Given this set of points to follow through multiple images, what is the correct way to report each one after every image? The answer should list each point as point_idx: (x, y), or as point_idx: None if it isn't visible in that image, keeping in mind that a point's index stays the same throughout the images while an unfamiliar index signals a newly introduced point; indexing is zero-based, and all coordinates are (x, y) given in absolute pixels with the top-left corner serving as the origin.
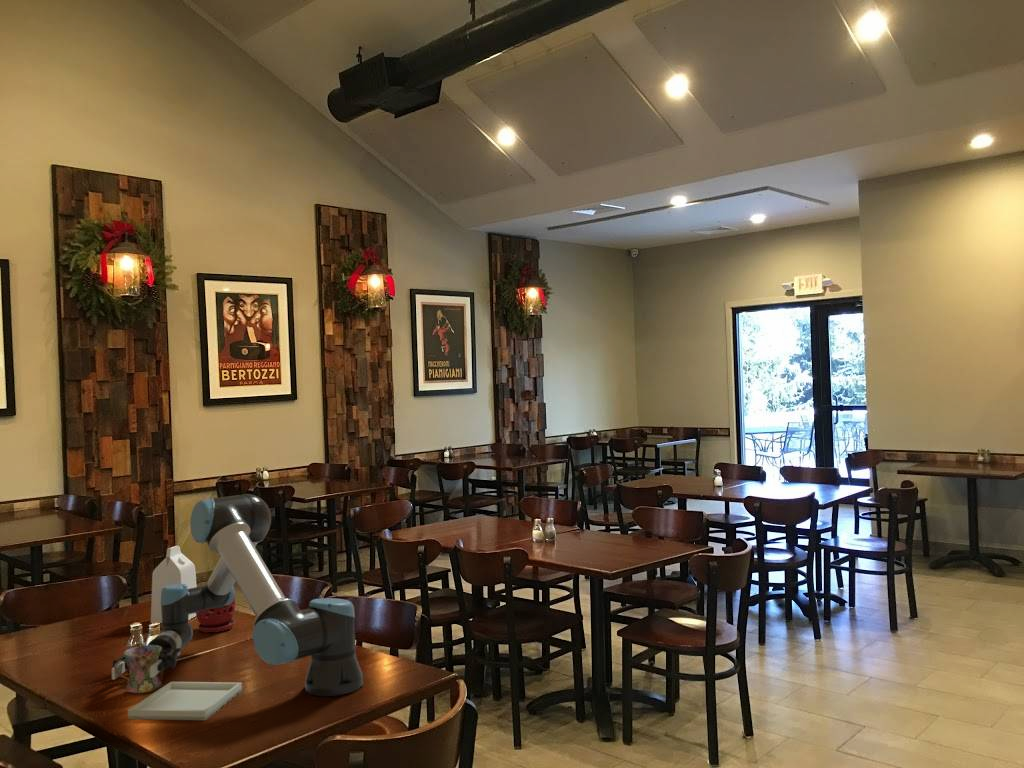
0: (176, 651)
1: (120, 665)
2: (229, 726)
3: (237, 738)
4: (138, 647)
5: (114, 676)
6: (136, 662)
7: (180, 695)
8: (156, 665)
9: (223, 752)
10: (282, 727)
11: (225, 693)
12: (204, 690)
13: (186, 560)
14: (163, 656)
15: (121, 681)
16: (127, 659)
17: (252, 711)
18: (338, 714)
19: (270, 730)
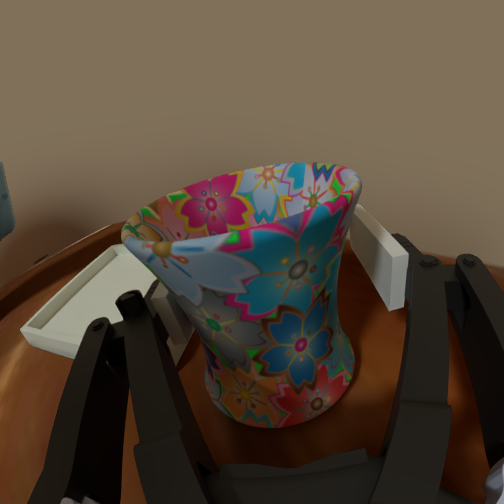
0: (50, 451)
1: (368, 234)
2: (98, 253)
3: (101, 240)
4: (318, 210)
5: (351, 235)
6: (254, 207)
7: None
8: None
9: (120, 226)
10: (60, 259)
11: (63, 289)
12: (82, 335)
13: None
14: (141, 357)
15: (483, 455)
16: (304, 191)
17: (60, 282)
18: (14, 282)
19: (70, 254)
